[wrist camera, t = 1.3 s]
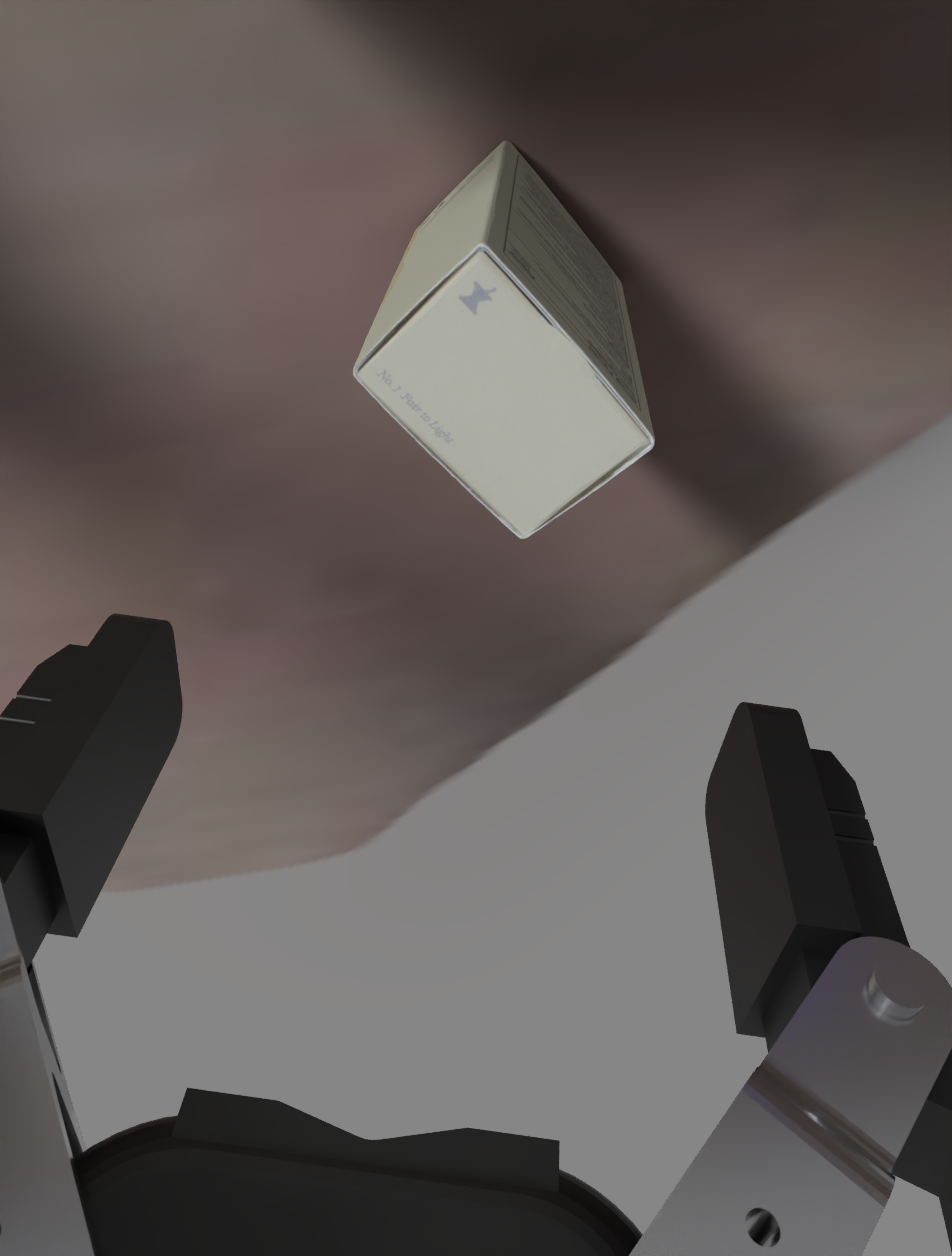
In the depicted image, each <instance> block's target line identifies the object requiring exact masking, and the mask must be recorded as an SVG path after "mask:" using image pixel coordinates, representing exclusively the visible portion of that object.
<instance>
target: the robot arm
mask: <svg viewBox="0 0 952 1256" xmlns="http://www.w3.org/2000/svg"><path fill="white" fill-rule="evenodd" d="M181 718H182V695H181V687H180V679H179V671H178V663H177V656H176V648H175V640H174V633H173V629H172V626H171V624H170V623H169V622H168V621H166V620H159V619H151V618H144V617H137V616H130V615H122V614H113V615H111V616H110V617H108V619H107V620H106V621H105V622H104V624H103V625H102V627H101V628H100V630H99V631H98V632H97V634H96V635H95V637H94V638H93V640H92V641H91V643H90V644H89V645H88V647H87V646H80V645H72V644H69V645H68V646H66V647H65V648H63V649H62V650H60V651H59V652H57V653H56V654H54V655H53V656H51V657H50V658H48V659H47V660H45V661H44V662H42V663H41V664H39V665H38V666H37V667H36V668H35V669H34V671H33V672H32V673H31V675H30V676H29V677H28V679H27V680H26V682H25V683H24V684H23V686H22V687H21V688H20V690H19V691H18V692H17V697H16V699H12V700H11V702H10V703H9V704H8V706H7V707H6V708H5V710H4V711H3V712H2V714H1V715H0V1256H861V1255H862V1253H863V1251H864V1249H865V1247H866V1245H867V1243H868V1241H869V1239H870V1236H871V1235H872V1233H873V1230H874V1229H875V1227H876V1225H877V1222H878V1220H879V1218H880V1216H881V1214H882V1212H883V1210H884V1208H885V1206H886V1204H887V1201H888V1199H889V1197H890V1195H891V1192H892V1189H893V1186H894V1183H895V1177H894V1176H893V1175H895V1176H897V1177H899V1178H901V1179H903V1180H905V1181H907V1182H909V1183H911V1184H914V1185H915V1186H917V1187H920V1188H922V1189H924V1190H926V1191H928V1192H930V1193H932V1194H934V1195H936V1196H938V1197H939V1199H940V1203H941V1208H942V1212H943V1216H944V1220H945V1224H946V1229H947V1234H948V1238H949V1242H950V1246H951V1251H952V987H951V986H950V984H949V983H948V981H947V980H946V978H945V977H944V976H943V975H942V974H941V973H940V972H939V970H938V969H937V968H936V967H935V966H934V965H933V964H932V963H931V962H930V961H928V960H927V959H926V958H924V957H923V956H922V955H920V954H919V953H918V952H916V951H914V950H912V949H911V948H910V945H909V943H908V941H907V938H906V934H905V931H904V928H903V925H902V922H901V920H900V916H899V913H898V911H897V907H896V904H895V901H894V898H893V895H892V892H891V889H890V886H889V883H888V880H887V877H886V874H885V871H884V868H883V865H882V862H881V859H880V856H879V853H878V850H877V847H876V846H874V845H873V841H874V837H873V835H872V832H871V828H870V826H869V823H868V820H867V819H865V814H866V813H865V810H864V807H863V804H862V801H861V798H860V795H859V792H858V789H857V786H856V783H855V781H854V780H853V778H852V777H851V776H850V775H849V773H848V772H847V771H846V770H845V768H844V767H843V766H842V765H841V763H840V762H839V761H838V760H837V758H836V757H835V756H834V755H833V754H832V752H830V751H824V750H817V749H810V747H809V744H808V740H807V736H806V733H805V730H804V726H803V723H802V719H801V716H800V714H799V712H798V711H797V710H795V709H790V708H782V707H775V706H768V705H761V704H753V703H746V702H742V703H740V704H739V705H738V707H737V709H736V710H735V713H734V715H733V718H732V720H731V723H730V726H729V728H728V731H727V733H726V736H725V739H724V741H723V744H722V746H721V749H720V752H719V754H718V757H717V760H716V762H715V765H714V768H713V770H712V773H711V776H710V779H709V782H708V787H707V793H706V804H705V805H706V806H705V816H706V825H707V832H708V838H709V846H710V853H711V859H712V866H713V873H714V879H715V887H716V894H717V901H718V907H719V914H720V920H721V928H722V934H723V942H724V948H725V956H726V963H727V969H728V976H729V983H730V990H731V996H732V1003H733V1011H734V1018H735V1024H736V1031H737V1033H738V1034H743V1035H751V1036H757V1037H765V1038H766V1042H767V1049H768V1054H767V1056H766V1057H765V1059H764V1060H763V1062H762V1063H761V1065H760V1066H759V1067H757V1068H756V1070H755V1071H754V1072H753V1074H752V1075H751V1076H750V1078H749V1079H748V1081H747V1082H746V1084H745V1085H744V1087H743V1088H742V1089H741V1091H740V1092H739V1094H738V1095H737V1097H736V1098H735V1100H734V1101H733V1103H732V1104H731V1106H730V1107H729V1109H728V1110H727V1112H726V1113H725V1115H724V1116H723V1118H722V1119H721V1120H720V1122H719V1124H718V1125H717V1126H716V1128H715V1129H714V1131H713V1132H712V1134H711V1135H710V1137H709V1138H708V1140H707V1141H706V1143H705V1144H704V1146H703V1147H702V1148H701V1150H700V1151H699V1153H698V1154H697V1156H696V1157H695V1159H694V1160H693V1162H692V1163H691V1165H690V1166H689V1168H688V1169H687V1171H686V1172H685V1173H684V1175H683V1176H682V1178H681V1180H680V1181H679V1182H678V1184H677V1185H676V1187H675V1188H674V1190H673V1191H672V1193H671V1194H670V1196H669V1197H668V1199H667V1200H666V1202H665V1203H664V1204H663V1206H662V1207H661V1209H660V1210H659V1212H658V1213H657V1215H656V1216H655V1218H654V1219H653V1221H652V1222H651V1224H650V1225H649V1227H648V1228H647V1230H646V1231H645V1233H644V1234H643V1235H642V1234H641V1232H640V1231H639V1230H638V1228H637V1227H636V1226H635V1225H634V1223H633V1222H632V1221H631V1220H630V1219H629V1218H628V1217H627V1216H626V1215H624V1213H623V1212H622V1211H621V1210H620V1209H619V1208H617V1206H615V1204H613V1203H612V1202H611V1201H609V1200H608V1199H607V1198H606V1197H604V1196H603V1195H602V1194H601V1193H599V1192H598V1191H597V1190H596V1189H594V1188H592V1187H591V1186H589V1185H588V1184H586V1183H585V1182H583V1181H581V1180H579V1179H578V1178H576V1177H575V1176H573V1175H571V1174H569V1173H566V1172H564V1171H562V1170H560V1169H559V1141H557V1140H550V1139H543V1138H536V1137H529V1136H522V1135H515V1134H508V1133H501V1132H493V1131H487V1130H480V1129H473V1128H462V1129H455V1130H448V1131H440V1132H433V1133H426V1134H418V1135H411V1136H403V1137H396V1138H389V1139H381V1140H368V1139H363V1138H360V1137H358V1136H355V1135H353V1134H351V1133H349V1132H346V1131H344V1130H342V1129H340V1128H338V1127H335V1126H333V1125H331V1124H329V1123H326V1122H324V1121H322V1120H320V1119H318V1118H315V1117H313V1116H311V1115H309V1114H307V1113H304V1112H302V1111H300V1110H298V1109H295V1108H293V1107H291V1106H289V1105H287V1104H284V1103H282V1102H280V1101H276V1100H269V1099H262V1098H255V1097H248V1096H241V1095H234V1094H227V1093H220V1092H212V1091H206V1090H199V1089H192V1088H187V1090H186V1093H185V1096H184V1099H183V1102H182V1105H181V1108H180V1111H179V1114H178V1116H172V1117H165V1118H161V1119H157V1120H153V1121H150V1122H146V1123H142V1124H139V1125H137V1126H134V1127H131V1128H129V1129H126V1130H124V1131H121V1132H119V1133H116V1134H114V1135H112V1136H110V1137H109V1138H107V1139H105V1140H103V1141H101V1142H99V1143H97V1144H95V1145H93V1146H92V1147H90V1148H89V1149H87V1150H86V1147H85V1143H84V1140H83V1137H82V1133H81V1130H80V1126H79V1123H78V1120H77V1117H76V1114H75V1111H74V1108H73V1104H72V1101H71V1097H70V1094H69V1091H68V1087H67V1084H66V1080H65V1076H64V1073H63V1069H62V1065H61V1062H60V1058H59V1054H58V1051H57V1047H56V1043H55V1040H54V1036H53V1032H52V1028H51V1025H50V1021H49V1018H48V1014H47V1010H46V1006H45V1003H44V999H43V995H42V992H41V988H40V985H39V981H38V977H37V973H36V970H35V967H34V963H33V961H32V960H33V958H34V956H35V954H36V952H37V950H38V949H39V947H40V945H41V943H42V941H43V939H44V937H45V935H46V934H47V933H49V934H55V935H62V936H69V937H76V938H77V937H78V935H79V933H80V931H81V929H82V927H83V925H84V923H85V921H86V919H87V917H88V915H89V913H90V911H91V909H92V907H93V905H94V903H95V901H96V899H97V897H98V895H99V893H100V891H101V889H102V887H103V885H104V883H105V881H106V879H107V877H108V875H109V873H110V871H111V869H112V868H113V866H114V864H115V862H116V860H117V858H118V856H119V854H120V852H121V850H122V848H123V846H124V844H125V842H126V840H127V838H128V836H129V834H130V832H131V830H132V828H133V826H134V824H135V822H136V820H137V818H138V816H139V814H140V812H141V810H142V808H143V806H144V804H145V802H146V800H147V798H148V796H149V794H150V792H151V790H152V788H153V786H154V784H155V782H156V780H157V778H158V776H159V774H160V772H161V770H162V768H163V766H164V764H165V762H166V760H167V758H168V756H169V754H170V752H171V750H172V748H173V746H174V744H175V741H176V739H177V736H178V732H179V729H180V724H181ZM892 1174H893V1175H892Z"/></svg>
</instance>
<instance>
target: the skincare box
mask: <svg viewBox="0 0 952 1256" xmlns="http://www.w3.org/2000/svg"><path fill="white" fill-rule="evenodd" d="M353 375H354V377H355V378H356V379H357V380H358V382H359V383H360V384H361V385H362V386H363V387H364V388H365V389H366V390H367V391H368V392H369V393H370V395H371V396H372V397H374V398H375V399H376V400H377V402H378V403H379V404H380V405H381V406H382V407H383V408H384V409H385V410H386V411H387V412H388V413H389V414H390V415H391V416H392V417H393V418H394V419H395V420H396V421H397V422H398V423H399V424H400V425H401V426H402V427H403V428H404V429H405V430H406V431H407V432H408V433H409V434H410V435H411V436H412V437H413V438H414V439H415V440H416V441H417V442H418V443H419V444H420V445H421V446H422V447H423V448H424V449H425V450H426V451H427V452H428V453H429V454H430V455H431V456H432V457H433V458H434V459H435V460H436V461H438V462H439V463H440V464H441V465H442V466H443V467H444V468H445V469H446V470H447V471H448V472H449V473H450V474H451V475H452V476H453V477H454V478H455V479H456V480H457V481H458V482H459V483H460V484H462V485H463V486H464V487H465V488H466V489H467V490H468V491H469V492H470V493H471V494H472V495H473V496H474V497H475V498H476V499H477V500H478V501H479V502H481V503H482V504H483V505H484V506H485V507H486V508H487V509H488V510H489V511H490V512H491V513H492V514H493V515H494V516H495V517H497V518H498V519H499V520H500V521H501V522H502V523H503V524H504V525H505V526H506V527H507V528H508V529H509V530H511V531H512V532H513V533H514V534H515V535H516V536H517V537H519V538H520V539H526V538H527V537H529V536H531V535H532V534H534V533H535V532H537V531H538V530H540V529H541V528H542V527H544V526H545V525H547V524H548V523H549V522H551V521H552V520H554V519H555V518H557V517H558V516H560V515H561V514H563V513H564V512H565V511H567V510H568V509H570V508H571V507H573V506H574V505H575V504H577V503H578V502H580V501H581V500H583V499H584V498H586V497H587V496H588V495H589V494H591V493H592V492H594V491H595V490H597V489H598V488H600V487H601V486H602V485H604V484H605V483H607V482H608V481H610V480H611V479H612V478H614V477H615V476H616V475H618V474H619V473H620V472H622V471H623V470H624V469H626V468H627V467H628V466H630V465H631V464H633V463H634V462H635V461H637V460H638V459H640V458H641V457H642V456H644V455H645V454H646V453H648V452H649V451H650V450H651V449H652V448H653V447H654V445H655V437H654V432H653V428H652V423H651V419H650V413H649V409H648V404H647V400H646V395H645V391H644V386H643V381H642V377H641V372H640V367H639V362H638V358H637V353H636V348H635V343H634V339H633V334H632V329H631V325H630V320H629V316H628V311H627V306H626V301H625V297H624V292H623V287H622V283H621V281H620V280H619V278H618V277H617V276H616V274H615V273H614V272H613V270H612V269H611V268H610V266H609V265H608V264H607V262H606V261H605V260H604V258H603V257H602V256H601V254H600V253H599V252H598V250H597V249H596V248H595V247H594V245H593V244H592V243H591V241H590V240H589V239H588V237H587V236H586V235H585V234H584V232H583V231H582V230H581V228H580V227H579V226H578V225H577V223H576V222H575V221H574V219H573V218H572V217H571V216H570V214H569V213H568V212H567V211H566V210H565V208H564V207H563V206H562V204H561V203H560V202H559V201H558V199H557V198H556V197H555V195H554V194H553V193H552V192H551V191H550V189H549V188H548V187H547V186H546V185H545V183H544V182H543V181H542V180H541V178H540V177H539V176H538V175H537V173H536V172H535V171H534V170H533V169H532V167H531V166H530V165H529V164H528V163H527V161H526V160H525V159H524V158H523V157H522V155H521V154H520V153H519V152H518V151H517V149H516V148H515V147H514V146H513V145H512V143H511V142H509V141H508V140H505V141H503V142H502V143H501V144H500V145H499V146H497V147H496V148H495V149H494V150H493V151H492V152H491V153H490V154H489V155H488V156H487V157H486V158H485V159H484V160H483V161H482V162H481V163H480V164H479V165H478V166H477V167H476V168H475V169H474V170H473V171H472V172H471V173H470V174H469V175H468V176H467V177H466V178H465V179H464V180H463V181H462V182H461V183H460V184H459V185H458V186H457V187H456V188H455V189H454V190H453V191H452V192H451V193H450V194H449V195H448V196H447V197H446V198H445V199H444V200H443V201H442V202H441V203H440V204H439V205H438V206H437V207H436V208H435V210H434V211H433V212H432V213H431V214H430V215H429V216H428V217H427V218H426V219H425V220H424V221H423V223H422V224H421V225H420V226H419V227H418V228H417V229H416V230H415V232H414V234H413V237H412V239H411V241H410V243H409V245H408V247H407V249H406V251H405V253H404V256H403V258H402V260H401V262H400V265H399V267H398V269H397V271H396V273H395V275H394V277H393V279H392V282H391V284H390V286H389V289H388V291H387V293H386V295H385V297H384V299H383V302H382V304H381V306H380V308H379V311H378V313H377V315H376V318H375V320H374V322H373V324H372V326H371V329H370V331H369V333H368V335H367V338H366V340H365V342H364V345H363V347H362V350H361V352H360V354H359V356H358V359H357V361H356V363H355V366H354V369H353Z"/></svg>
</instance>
